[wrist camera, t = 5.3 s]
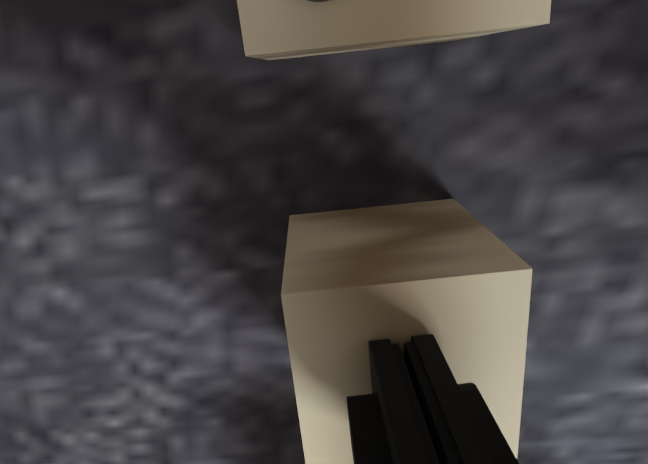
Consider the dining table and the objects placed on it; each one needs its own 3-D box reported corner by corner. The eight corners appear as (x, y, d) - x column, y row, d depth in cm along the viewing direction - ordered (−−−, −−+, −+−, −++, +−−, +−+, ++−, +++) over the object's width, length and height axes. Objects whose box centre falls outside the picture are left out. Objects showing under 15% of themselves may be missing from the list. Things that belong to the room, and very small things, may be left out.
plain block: (453, 198, 16) (532, 268, 10) (452, 337, 18) (517, 458, 13) (289, 214, 16) (280, 294, 10) (307, 352, 18) (308, 480, 13)
